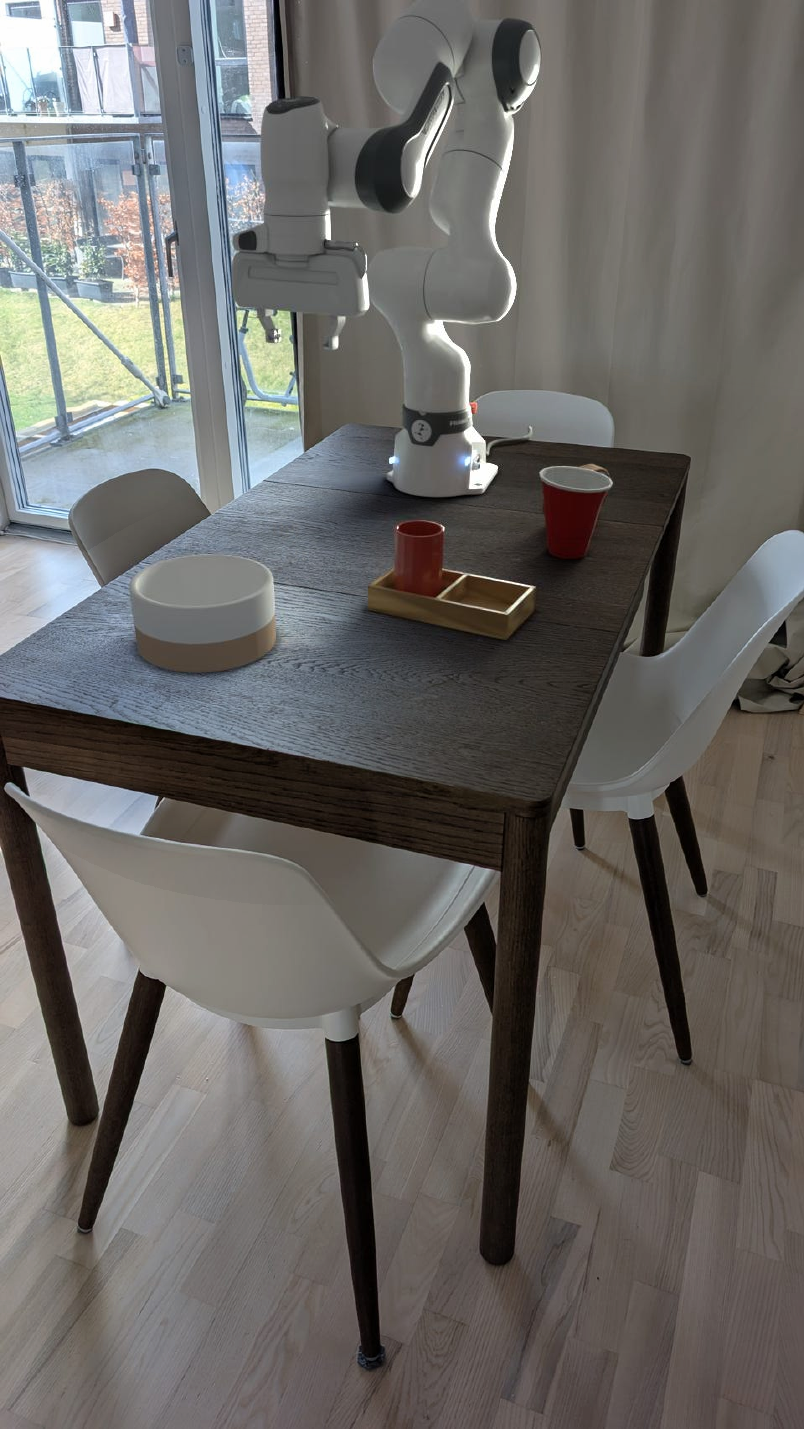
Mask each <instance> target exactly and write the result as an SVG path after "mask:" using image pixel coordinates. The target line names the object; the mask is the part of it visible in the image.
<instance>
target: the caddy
mask: <svg viewBox="0 0 804 1429" xmlns="http://www.w3.org/2000/svg"><path fill="white" fill-rule="evenodd" d="M536 591H537V586H534V585H528V584H524V583H519V582H513V581H509V580H503V579H499V578H498V579H497V578H493V577H489V576H488V577H487V576H483V575H477V574H473V573H467V572H463V571H459V570H458V571H457V570H452V569H447V568H443V578H442V593H441V594H440V595H438V596H437V597H436V598H433V597H428V596H423V595H418V594H414V593H409V592H404V591H399V590H394V566H393V567H392V568H390V569H388V570H387V571H386V572H384V573H383V574H381V576H379V577H378V578H376V579H375V580H374V581H372V582H370V584H367V610H368V611H372V612H375V613H380V614H384V615H389V616H394V617H399V618H403V619H406V620H407V619H408V620H412V621H416V622H422V623H426V624H430V625H435V626H439V627H444V628H449V629H453V630H458V631H461V632H468V633H472V634H476V635H480V636H484V637H490V638H493V639H499V640H504V641H506V640H508V638H510V636H511V635H512V634H514V633H515V631H517V629H519V627H520V626H521V625H522V624H523V623H524V622H525V621H526V620H527V619H528V618H529V617H530V616H532V615H531V614H533V613H534V612H535V604H536Z"/></svg>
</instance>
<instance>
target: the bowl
mask: <svg viewBox="0 0 804 1429" xmlns="http://www.w3.org/2000/svg"><path fill="white" fill-rule="evenodd" d="M274 587H275V586H274V577H273V573H272V571H271V570H270V569H269V568H268V567H267V566H266V565H264V564H262V563H261V562H258V561H256V560H253V559H251V558H247V557H242V556H238V555H232V554H219V553H218V554H217V553H205V554H204V553H201V554H200V553H199V554H190V555H183V556H176V557H172V558H167V559H163V560H161V561H157V562H154V563H152V564H149V565H147V566H146V567H145V566H144V567H143V568H142V569H141V570H139V571H137V572H136V573H135V574H134V575H133V576H132V577H131V579H130V581H129V584H128V590H129V597H130V606H131V613H132V621H133V626H134V635H135V641H136V650H137V652H138V654H139V655H140V657H141V658H142V659H144V660H145V661H146V662H147V663H149V664H151V665H153V666H155V667H158V668H161V669H165V670H167V671H173V672H179V673H191V674H197V673H198V674H199V673H202V674H203V673H213V672H222V671H229V670H233V669H237V668H240V667H244V666H246V665H249V664H251V663H253V662H255V661H258V660H260V659H261V658H263V657H264V656H266V655H267V654H268V653H269V652H270V651H271V650H272V649H273V647H274V646H275V644H276V641H277V640H276V639H277V630H276V629H277V628H276V606H275V588H274Z"/></svg>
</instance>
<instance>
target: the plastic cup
mask: <svg viewBox="0 0 804 1429" xmlns="http://www.w3.org/2000/svg"><path fill="white" fill-rule="evenodd" d="M579 467H580V466H579ZM579 467H578V466H566V465H559V466H558V465H556V466H549V467H545V468H542V469H541V470H540V471H539V472H538V474H539V478H540V480H541V487H542V495H543V499H544V510H545V517H544V522H545V531H546V541H547V542H546V543H547V549H548V553H549V554H550V555H551V556H553V557H556V558H559V559H565V560H567V559H568V560H576V559H581V558H583V557H585V556H586V554H587V551H588V550H589V548H590V544H591V540H592V536H593V534H594V532H595V529H596V525H597V522H598V518H599V515H600V512H601V509H602V507H601V505H602V502H603V501H604V498H605V495H606V494H607V495H608V493H607V491H608V492H609V490H610V489H611V488H612V487H613V485H614V482H613V480H612V478H611V477H610V478H609V477H607V476H605V475H604V474H601V473H598V472H595V471H593V470H588V469H583V468H579ZM600 508H601V509H600Z"/></svg>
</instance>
